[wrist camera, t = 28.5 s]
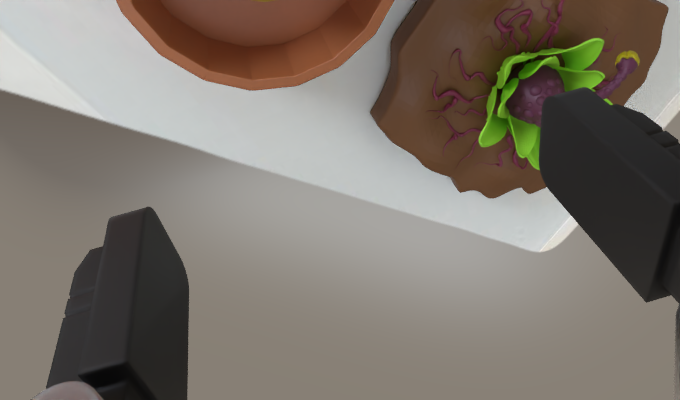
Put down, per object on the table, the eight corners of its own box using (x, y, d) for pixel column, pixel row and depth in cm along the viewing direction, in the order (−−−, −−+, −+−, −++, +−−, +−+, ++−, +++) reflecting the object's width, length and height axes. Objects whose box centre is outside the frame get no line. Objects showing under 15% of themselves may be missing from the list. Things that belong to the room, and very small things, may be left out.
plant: (492, -141, 32) (604, -111, 23) (685, 1, 40) (820, 62, 31) (334, 135, 41) (371, 230, 32) (518, 203, 49) (587, 293, 41)
